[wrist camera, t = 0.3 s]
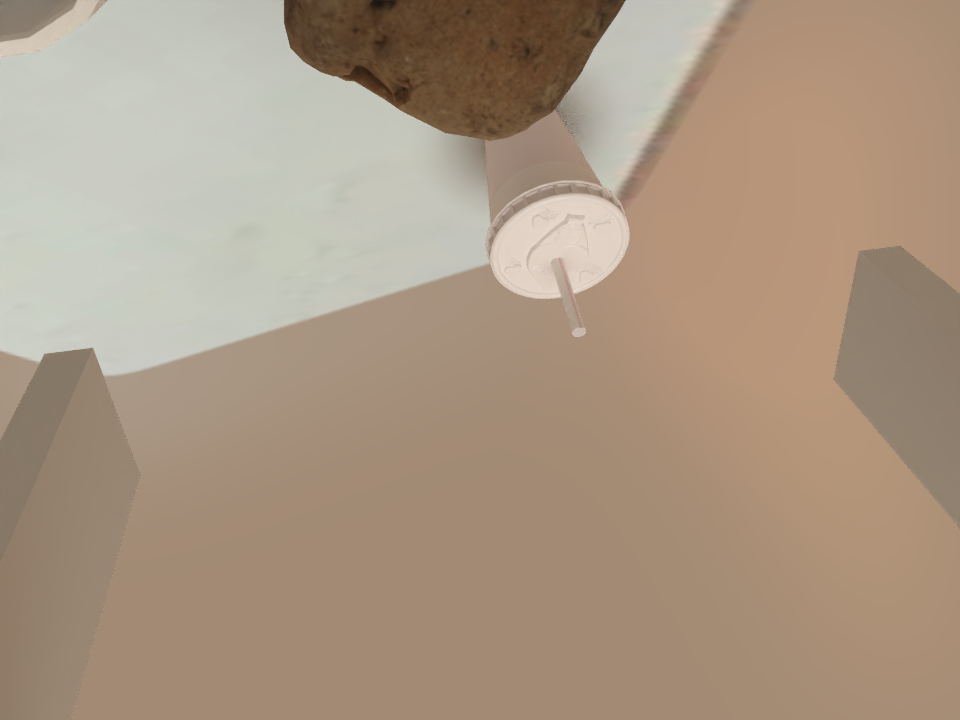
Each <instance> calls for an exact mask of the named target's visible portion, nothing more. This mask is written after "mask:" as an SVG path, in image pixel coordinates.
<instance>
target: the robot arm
mask: <svg viewBox="0 0 960 720" xmlns="http://www.w3.org/2000/svg"><path fill="white" fill-rule="evenodd" d="M834 381H835V382H836V383H837V384H838V385H839V386H840V388H841V389H842V390H843V391H844V392H845V393H846V395H847V396H848V397H849V398H850V399H851V400H852V402H853V403H854V404H855V405H856V406H857V408H858V409H859V410H860V411H861V412H862V414H863V415H864V416H865V417H866V418H867V419H868V421H869V422H870V423H871V424H872V425H873V426H874V428H875V429H876V430H877V431H878V432H879V434H880V435H881V436H882V437H883V438H884V439H885V441H886V442H887V443H888V444H889V445H890V447H891V448H892V449H893V450H894V451H895V452H896V454H897V455H898V456H899V457H900V458H901V459H902V461H903V462H904V463H905V464H906V465H907V467H908V468H909V469H910V470H911V471H912V472H913V474H914V475H915V476H916V477H917V478H918V480H919V481H920V482H921V483H922V484H923V485H924V487H925V488H926V489H927V490H928V491H929V492H930V493H931V495H932V496H933V497H934V498H935V500H936V501H937V502H938V503H939V504H940V505H941V507H942V508H943V509H944V510H945V511H946V513H947V514H948V515H949V516H950V517H951V518H952V519H953V521H954V522H955V523H956V524H957V525H958V527H959V528H960V293H958V292H957V291H956V290H955V289H953V288H952V287H951V286H950V285H948V284H947V283H946V282H945V281H943V280H942V279H941V278H940V277H939V276H937V275H936V274H935V273H934V272H932V271H931V270H930V269H929V268H927V267H926V266H925V265H924V264H922V263H921V262H920V261H919V260H917V259H916V258H914V256H912V255H911V254H910V253H909V252H907V251H906V250H905V249H904V248H902V247H901V246H895V247H887V248H879V249H871V250H864V251H859V253H858V258H857V263H856V269H855V273H854V279H853V284H852V289H851V294H850V299H849V304H848V309H847V314H846V319H845V324H844V329H843V334H842V339H841V344H840V350H839V355H838V360H837V365H836V370H835V375H834ZM139 478H140V474H139V471H138V468H137V465H136V463H135V460H134V457H133V455H132V452H131V449H130V447H129V444H128V441H127V439H126V436H125V433H124V430H123V428H122V425H121V422H120V420H119V417H118V414H117V412H116V409H115V406H114V404H113V401H112V398H111V395H110V393H109V390H108V387H107V385H106V382H105V379H104V377H103V374H102V371H101V369H100V366H99V363H98V360H97V358H96V355H95V352H94V350H93V348H88V349H80V350H72V351H64V352H56V353H48V354H44V356H43V358H42V360H41V362H40V364H39V366H38V368H37V370H36V372H35V374H34V376H33V378H32V379H31V381H30V383H29V385H28V387H27V389H26V391H25V393H24V395H23V397H22V399H21V401H20V403H19V405H18V407H17V409H16V411H15V413H14V415H13V417H12V419H11V420H10V423H9V424H8V426H7V428H6V430H5V432H4V434H3V436H2V438H1V440H0V720H71V719H72V716H73V712H74V709H75V705H76V702H77V698H78V695H79V691H80V687H81V684H82V680H83V677H84V673H85V670H86V666H87V663H88V659H89V655H90V652H91V648H92V645H93V641H94V638H95V634H96V631H97V627H98V624H99V620H100V616H101V613H102V609H103V606H104V602H105V599H106V595H107V592H108V588H109V585H110V581H111V578H112V574H113V570H114V567H115V563H116V560H117V556H118V553H119V549H120V546H121V542H122V539H123V535H124V531H125V527H126V524H127V521H128V517H129V513H130V510H131V507H132V503H133V500H134V496H135V492H136V489H137V485H138V482H139Z"/></svg>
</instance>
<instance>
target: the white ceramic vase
mask: <svg viewBox="0 0 960 720" xmlns="http://www.w3.org/2000/svg"><path fill="white" fill-rule="evenodd" d="M106 1H107V0H0V57H3V56H10V55H16V54H23V53H29V52H35V51H41V50H42V49H44V48H45V47H47V46H48V45H50V44H51V43H53V42H54V41H56V40H58V39H59V38H61V37H62V36H64V35H65V34H67V33H68V32H70V31H71V30H73V29H75V28H76V27H78V26H79V25H81V24H82V23H84V22H85V21H87V20H88V19H90V17H91V16H92V15H93V14H94V13H95V12H96V11H97V10H98V9H99V8H100V7H101V6H102V5H103V4H104V3H105V2H106Z"/></svg>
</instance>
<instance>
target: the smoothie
mask: <svg viewBox="0 0 960 720" xmlns="http://www.w3.org/2000/svg"><path fill="white" fill-rule="evenodd" d="M485 153H486V166H487V180H488V193H489V206H490V222H491V226H490V228H489V229H488V234H487V239H486V250H487V256H488V259H489V261H490V263H491V267H492V270H493V272H494V275H495V276H496V278H497V279H498V281H499V282H500V283H501V284H502V285H503V286H505V287H506V288H507V289H509V290H510V291H512V292H515V293H517V294H519V295H522V296H526V297H530V298H538V299H552V298H559V297H562V301H563V304H564V307H565V310H566V314H567V317H568V320H569V323H570V327H571V330H572V333H573V335H574V336H576V337H579V336H582V335H584V334H585V332H586V330H585V327H584V324H583V321H582V318H581V314H580V311H579V308H578V305H577V302H576V299H575V296H574V294H576V293H579V292H580V291H583V290H586V289H588V288H590V287H591V286H593V285H595V284H597V283H598V282H600V281H601V280H602V279H604V278H605V277H606V276H607V275H609V274H610V273H611V272H612V270H614V269H615V268H616V266H617V265H618V264H619V262H620V261H621V260H622V258H623V256H624V254H625V252H626V250H627V247H628V243H629V227H628V223H627V220H626V215H625V212H624V209H623V207H622V204H621V202H620V201H619V200H618V199H617V198H616V196H615V195H614V194H613V193H612V192H611V191H609V190H607V189H606V188H604V187H603V186H602V185H601V183H600V181H599V180H598V178H597V177H596V175H595V174H594V172H593V170H592V169H591V167H590V165H589V164H588V162H587V161H586V159H585V157H584V156H583V154H582V152H581V151H580V149H579V147H578V146H577V144H576V143H575V141H574V139H573V138H572V136H571V134H570V133H569V131H568V130H567V128H566V126H565V125H564V123H563V121H562V120H561V118H560V116H559V115H558V113H557V112H556V110H555V109H554V111H553V112H552V113H550V114H549V115H547V116H545V117H544V118H542V119H540V120H539V121H537V122H535V123H534V124H533V125H531V126H530V127H529V128H528V129H527V130H525V131H522V132H520V133H518V134H515V135H513V136H511V137H508V138H504V139H498V140H493V141H488V140H485Z"/></svg>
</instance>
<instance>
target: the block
mask: <svg viewBox="0 0 960 720" xmlns="http://www.w3.org/2000/svg"><path fill="white" fill-rule="evenodd" d="M624 2H625V0H284V24H285V28H286V32H287V36H288V40H289V44H290V48H291V49H292V50H293V51H294V52H295V53H296V54H297V55H298V56H299V57H300V58H301V59H302V60H303V61H304V62H305V63H307V64H309V65H310V66H312V67H313V68H315V69H317V70H318V71H320V72H322V73H325V74H328V75H331V76H337V77H339V78H341V79H343V80H345V81H355V82H357V83H359V84H360V85H362V86H363V87H365V88H367V89H368V90H370V91H372V92H373V93H375V94H377V95H378V96H380V97H382V98H383V99H385V100H386V101H388V102H389V103H391V104H392V105H394V106H395V107H396V108H398V109H399V110H401V111H403V112H405V113H407V114H409V115H411V116H413V117H415V118H417V119H419V120H421V121H423V122H425V123H427V124H429V125H431V126H433V127H435V128H437V129H439V130H441V131H443V132H445V133H450V134H456V135H463V136H469V137H475V138H481V139H485V140H488V141H493V140H498V139H504V138H508V137H511V136H513V135H515V134H518V133H520V132H522V131H525V130H527V129H528V128H529V127H530V126H531V125H533V124H534V123H535V122H537V121H539V120H540V119H542V118H544V117H545V116H547V115H549V114H550V113H552V112H553V111H554V109H555V108H556V107H557V105H558V104H559V103H560V101H561V100H562V98H563V97H564V96H565V94H566V93H567V92H568V90H569V89H570V87H571V86H572V85H573V83H574V82H575V81H576V79H577V78H578V76H579V75H580V74H581V72H582V70H583V68H584V66H585V64H586V62H587V60H588V59H589V57H590V55H591V53H592V51H593V49H594V47H595V46H596V44H597V43H598V42H599V40H600V39H601V37H602V36H603V34H604V33H605V31H606V30H607V28H608V27H609V25H610V24H611V23H612V21H613V20H614V18H615V17H616V15H617V14H618V12H619V11H620V9H621V7H622V6H623V4H624Z"/></svg>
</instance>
